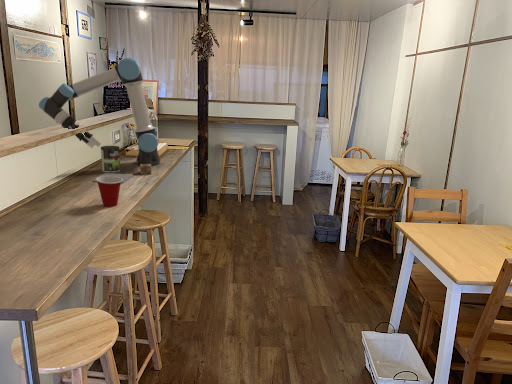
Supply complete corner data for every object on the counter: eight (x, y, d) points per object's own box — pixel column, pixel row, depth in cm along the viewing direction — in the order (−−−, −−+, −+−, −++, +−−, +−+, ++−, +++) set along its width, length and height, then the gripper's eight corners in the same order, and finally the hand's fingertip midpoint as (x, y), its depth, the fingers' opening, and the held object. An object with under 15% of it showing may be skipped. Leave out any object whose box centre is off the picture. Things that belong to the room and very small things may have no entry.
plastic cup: (118, 209, 166) (117, 182, 162) (93, 208, 166) (91, 180, 162) (127, 201, 176) (126, 175, 173) (103, 200, 176) (101, 174, 173)
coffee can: (124, 170, 231) (123, 147, 228) (109, 173, 223) (108, 149, 219) (112, 167, 237) (111, 144, 233) (98, 170, 228) (96, 146, 224)
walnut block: (151, 172, 231) (151, 163, 230) (151, 174, 226) (150, 166, 224) (140, 172, 230) (140, 164, 228) (140, 174, 224) (140, 166, 223)
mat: (132, 176, 220) (132, 174, 220) (123, 183, 205) (122, 181, 204) (104, 174, 220) (104, 173, 220) (92, 181, 205) (92, 180, 205)
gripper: (68, 125, 231) (98, 149, 236) (53, 125, 207) (86, 152, 211) (76, 115, 231) (106, 140, 235) (62, 114, 206) (95, 141, 211)
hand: (96, 145), depth 223 cm, fingers open, 13 cm apart
